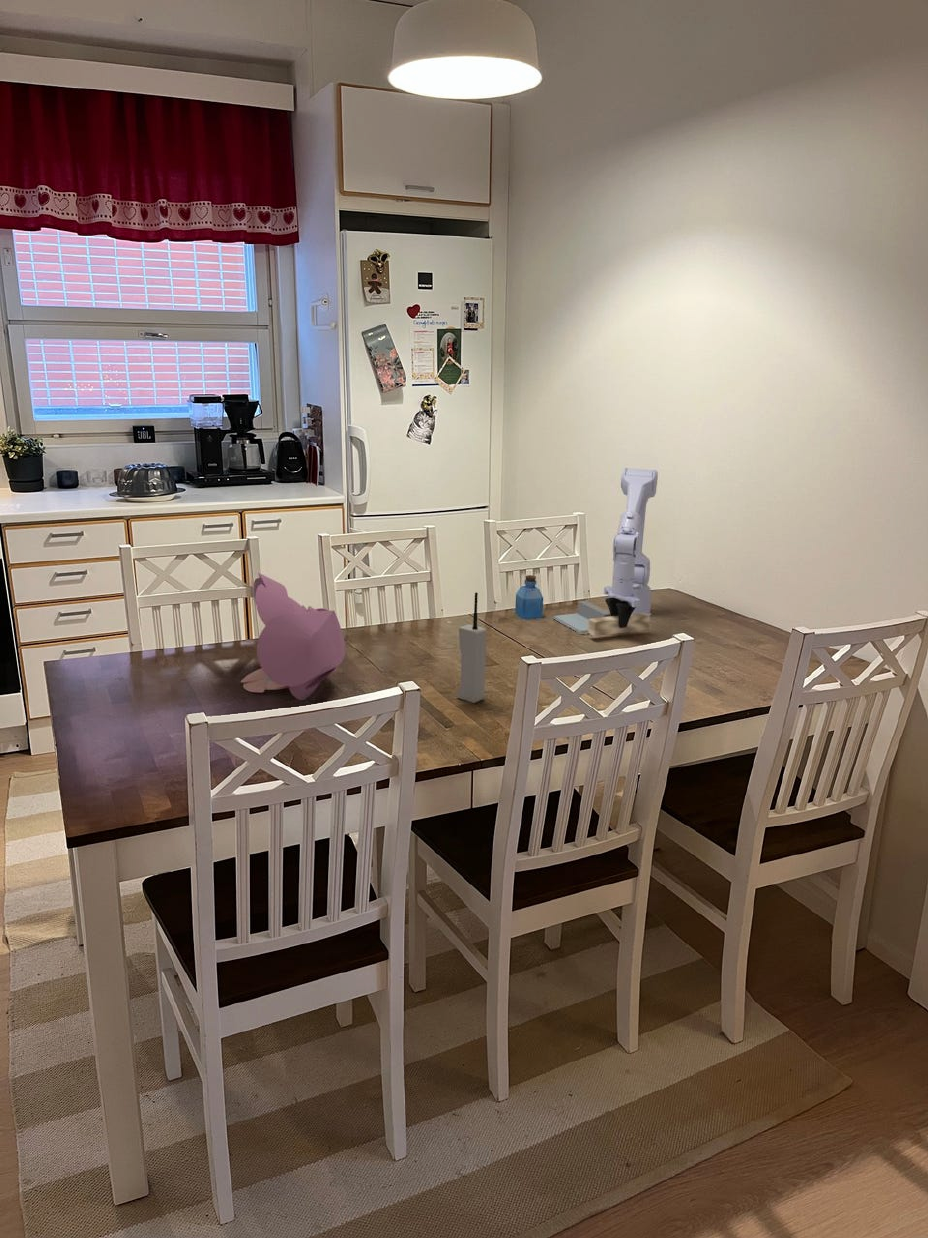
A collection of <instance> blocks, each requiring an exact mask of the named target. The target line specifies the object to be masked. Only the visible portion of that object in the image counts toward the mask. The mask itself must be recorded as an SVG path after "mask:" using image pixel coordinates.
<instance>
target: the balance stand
mask: <svg viewBox="0 0 928 1238" xmlns="http://www.w3.org/2000/svg"><path fill="white" fill-rule="evenodd" d="M601 617H610V611H609V610H606V609H603V608H601V607H599V606H597V605H595V604H593V603H591V602H589V601H587V600H582V601H581V600H580V601H578V605H577V612H576V613H569V614H560V615H559V614H558V615H553V620H554V619H555V620H557V621H559V622H560V623H562V624H564V625H566V626H568V627H570V628H572V629H574V630H576V631H577V632H580V633H586V632H588V627H589V619H592V618H601ZM555 620H554V621H555ZM560 623H559V624H560ZM562 624H561V625H562ZM564 625H563V626H564Z"/></svg>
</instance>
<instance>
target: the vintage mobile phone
mask: <svg viewBox="0 0 928 1238" xmlns="http://www.w3.org/2000/svg"><path fill="white" fill-rule="evenodd" d="M473 607H474V611H473V619H472V621H473V622H472V623H473V624H470V623H468V624H466V625H463V626H460V627H458V635H459V638H458V639H459V650H460V654H461V660H460V661H461V662H460V686H459V688H458V690H457V692H456V697H457V699H460V700H463V701H466V702H469V703H472V704H475V703H477V702H479V701H482V700H484V698H485V684H486V661H487V660H486V659H487V658H486V657H487V637H488V636H487V635H488V631H487V628H484V627H481V626H478V592H476V591H475V592H474V606H473Z"/></svg>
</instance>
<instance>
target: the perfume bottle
mask: <svg viewBox="0 0 928 1238" xmlns="http://www.w3.org/2000/svg"><path fill="white" fill-rule="evenodd" d="M536 578H537V576H536V575H533V574H531V575H525V579H524V584H523V586H522V585H521V586H520V587H519V589H518V590H517V592H515V609H514V610H515V611H514V614H515V615H516V614H517V615H518V616H517V615H516V616H517V617H519V618H520V619H521V620H522V619H525V620H537V619H536V618H541V619H543V611H544V596H543V595H542V592H541V590H540V589H539V588H538V587H537V586H536V585H537V580H536ZM524 585H525V586H524Z"/></svg>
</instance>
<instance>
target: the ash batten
mask: <svg viewBox="0 0 928 1238" xmlns="http://www.w3.org/2000/svg"><path fill="white" fill-rule="evenodd" d="M650 618H651V615H647V614H645V613H637V614H631V616H630V619H629V622H628V624H627V627H625V628H620V627H619V616H610V617H601V618H592V619H589V627H588V633H589V634H588V635H592V637H593V636H594V637H597V636H606V635H613V634H622V633H630V632H638V631H646V630H649V629H650V622H651V621H650V620H651V619H650Z"/></svg>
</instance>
